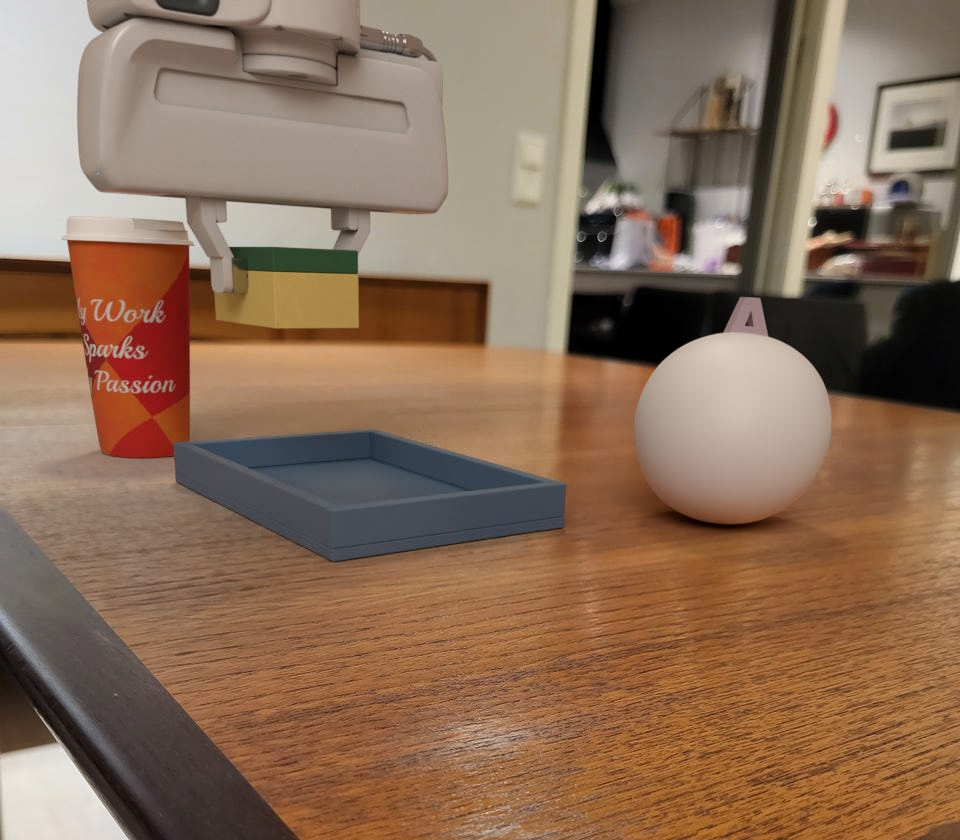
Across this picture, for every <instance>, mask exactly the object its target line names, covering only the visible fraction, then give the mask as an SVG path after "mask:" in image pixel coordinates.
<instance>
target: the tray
mask: <svg viewBox="0 0 960 840" xmlns="http://www.w3.org/2000/svg"><path fill="white" fill-rule="evenodd" d="M173 447H174V456H173V459H174V471H175V472H174V475H175V476H174V477H175V482H176V483H178V484H179V485H182V486H184V487H186V488H187V489H190V490H192V491H193V492H195V493H197V494H199V495H201V496H204V497H205V498H206V499H209V500H211V501H213V502H214V503H217V504H219V505H221V506H223V507H225V508H227V509H228V510H231V511H233V512H234V513H237V514H239V515H240V516H243V517H244V518H246V519H249V520H250V521H253V522H254V523H256V524H258V525H260V526H262V527H264V528H266V529H268V530H270V531H272V532H274V533H275V534H278V535H280V536H282V537H284V538H286V539H287V540H290V541H292V542H293V543H296V544H297V545H300V546H301V547H304V548H305V549H307V550H309V551H311V552H314V553H315V554H317V555H319V556H321V557H323V558H325V559H327V560H329V561H331V562H340V561H347V560H353V559H361V558H368V557H373V556H374V557H375V556H381V555H387V554H393V553H400V552H408V551H413V550H414V551H415V550H422V549H428V548H435V547H440V546H447V545H448V546H449V545H453V544H462V543H469V542H474V541H482V540H487V539H494V538H500V537H501V538H502V537H507V536H516V535H522V534H528V533H535V532H541V531H550V530H557V529H562V528H564V526H565V525H564V524H565V511H566V510H565V509H566V495H567V483H565V482H561V481H559V480H555V479H551V478H548V477H544V476H540V475H537V474H533V473H529V472H527V471H523V470H519V469H516V468H512V467H510V466H509V467H508V466H505V465H502V464H499V463H495V462H490V461H487V460H484V459H481V458H477V457H473V456H470V455H466V454H464V453H460V452H455V451H453V450H449V449H447V448H446V449H445V448H442V447H439V446H434V445H431V444H428V443H424V442H421V441H417V440H413V439H410V438H407V437H404V436H399V435H396V434H392V433H389V432H385V431H382V430H379V429H375V428H371V429H369V428H368V429H356V430H341V431H340V430H339V431H326V432H325V431H324V432H311V433H293V434H280V435H264V436H250V437H248V436H247V437H233V438H220V439H205V440H190V441H188V442H175V443H173Z"/></svg>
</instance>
